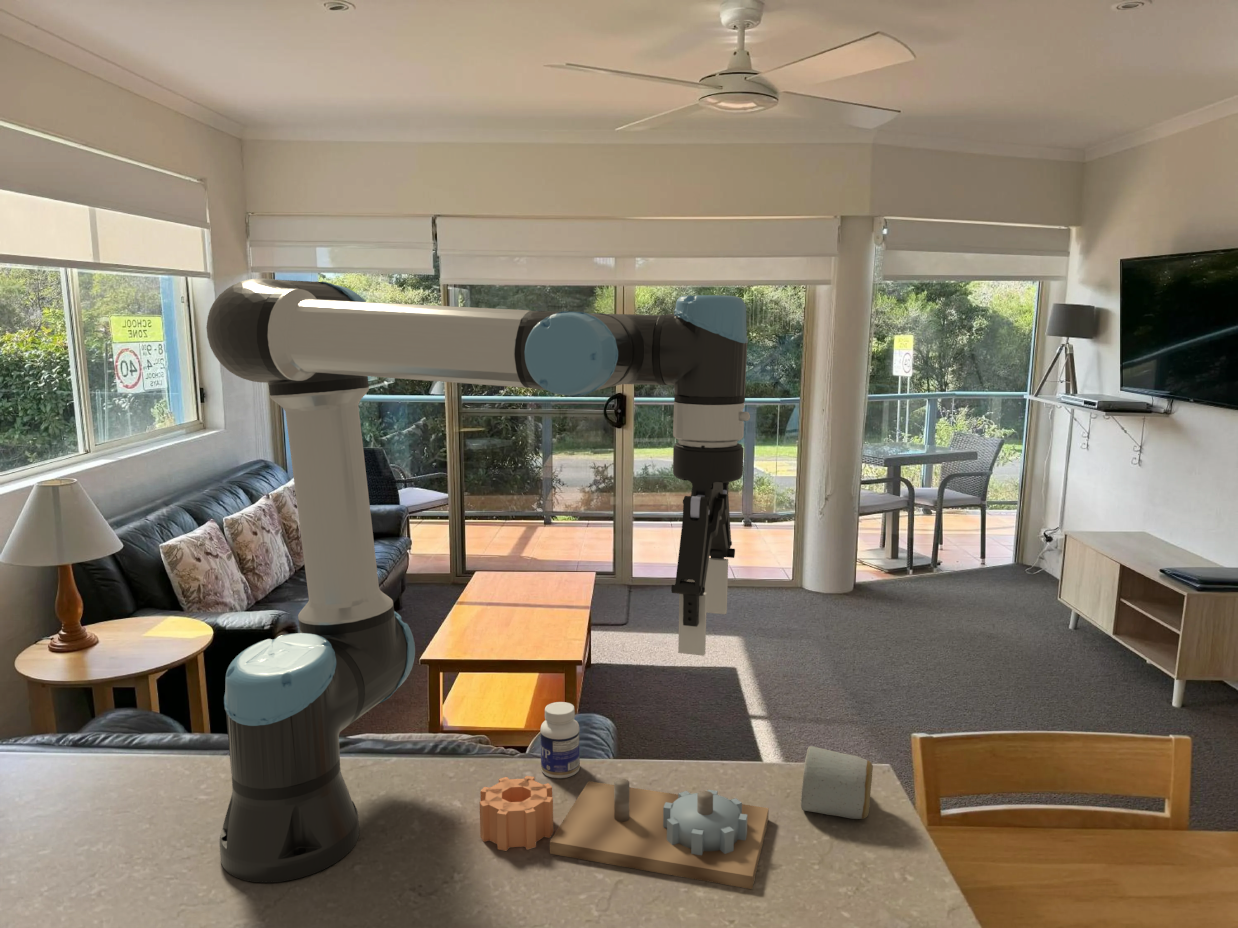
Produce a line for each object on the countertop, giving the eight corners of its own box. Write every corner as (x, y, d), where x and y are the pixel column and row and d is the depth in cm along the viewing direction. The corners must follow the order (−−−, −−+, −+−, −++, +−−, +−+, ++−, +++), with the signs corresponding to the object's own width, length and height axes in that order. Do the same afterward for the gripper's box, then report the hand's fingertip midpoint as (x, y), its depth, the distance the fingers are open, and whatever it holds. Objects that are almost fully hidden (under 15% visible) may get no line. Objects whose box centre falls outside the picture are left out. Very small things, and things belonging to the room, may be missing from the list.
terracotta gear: (467, 843, 103) (465, 807, 102) (498, 804, 111) (497, 771, 110) (537, 856, 100) (537, 819, 99) (564, 815, 108) (563, 781, 108)
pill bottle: (537, 763, 121) (536, 702, 120) (574, 757, 123) (573, 697, 122) (545, 781, 116) (544, 718, 115) (584, 775, 118) (583, 713, 117)
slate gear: (654, 847, 99) (654, 826, 99) (673, 803, 108) (673, 784, 108) (739, 861, 97) (740, 840, 96) (752, 815, 106) (752, 795, 105)
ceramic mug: (869, 832, 105) (872, 771, 104) (799, 821, 107) (801, 761, 106) (871, 790, 115) (874, 733, 114) (807, 780, 117) (809, 725, 116)
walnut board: (549, 853, 101) (549, 804, 100) (588, 791, 114) (588, 748, 113) (752, 889, 94) (753, 837, 93) (768, 819, 107) (769, 773, 107)
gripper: (723, 460, 82) (718, 677, 85) (758, 430, 106) (753, 601, 109) (645, 456, 84) (642, 669, 87) (696, 427, 108) (693, 595, 111)
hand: (704, 631), depth 98 cm, fingers open, 13 cm apart
